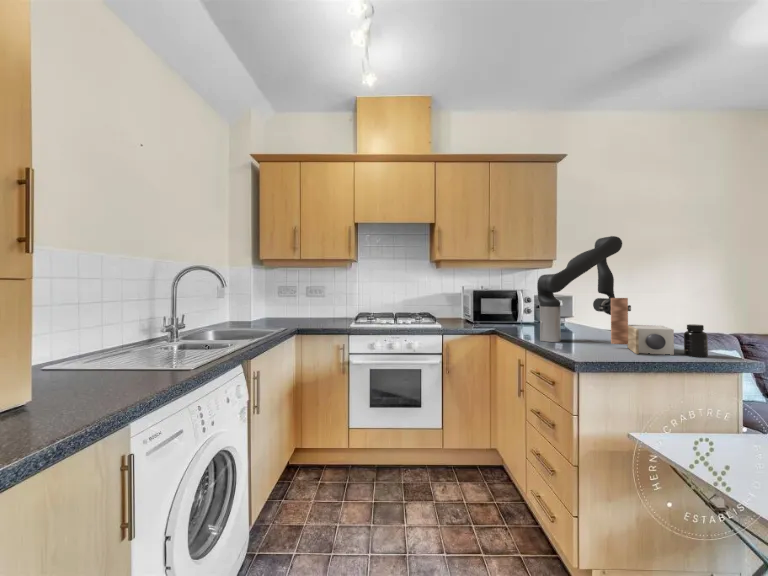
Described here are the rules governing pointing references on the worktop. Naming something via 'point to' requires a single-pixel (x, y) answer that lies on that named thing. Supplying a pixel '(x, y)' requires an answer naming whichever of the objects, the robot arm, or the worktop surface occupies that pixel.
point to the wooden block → (623, 325)
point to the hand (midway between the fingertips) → (618, 309)
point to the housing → (655, 339)
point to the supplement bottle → (695, 341)
